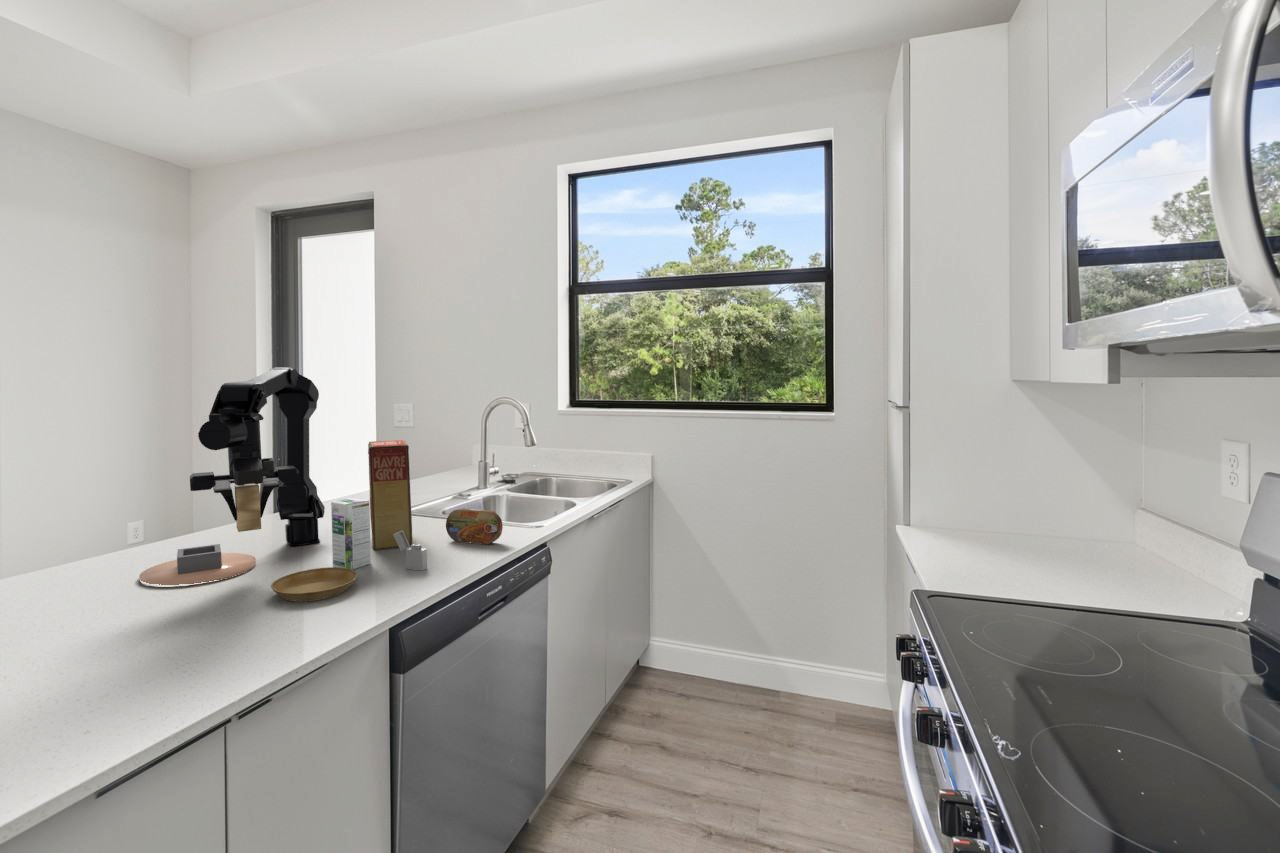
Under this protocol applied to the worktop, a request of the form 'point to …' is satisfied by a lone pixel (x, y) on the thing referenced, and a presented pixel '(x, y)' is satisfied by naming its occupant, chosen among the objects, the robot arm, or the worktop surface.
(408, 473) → the food packaging
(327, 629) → the worktop surface
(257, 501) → the oak peg
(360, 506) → the syrup box
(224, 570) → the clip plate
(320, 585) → the plant saucer
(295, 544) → the robot arm
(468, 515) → the tin
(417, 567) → the lighter
